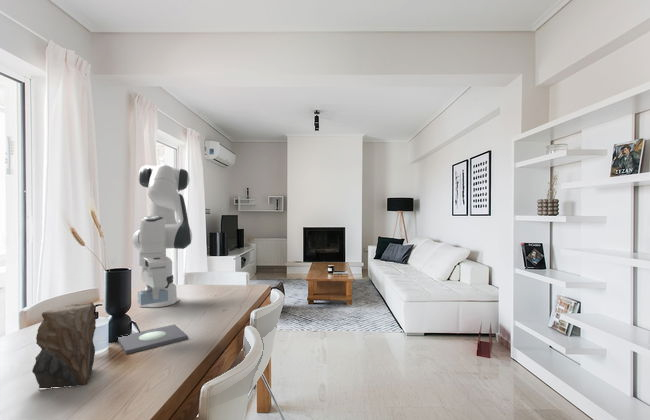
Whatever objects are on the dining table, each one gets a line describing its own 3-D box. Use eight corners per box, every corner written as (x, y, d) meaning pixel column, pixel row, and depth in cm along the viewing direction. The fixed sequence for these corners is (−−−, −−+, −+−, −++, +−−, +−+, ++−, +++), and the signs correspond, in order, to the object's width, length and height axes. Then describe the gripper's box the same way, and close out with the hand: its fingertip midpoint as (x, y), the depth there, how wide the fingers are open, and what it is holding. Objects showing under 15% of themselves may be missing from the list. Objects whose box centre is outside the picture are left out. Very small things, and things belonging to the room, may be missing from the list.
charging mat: (117, 339, 121) (117, 336, 121) (174, 327, 134) (174, 323, 134) (125, 354, 109) (125, 350, 109) (187, 338, 122) (187, 335, 122)
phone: (137, 302, 120) (137, 291, 120) (164, 298, 126) (164, 287, 126) (140, 305, 116) (140, 293, 117) (167, 300, 122) (167, 289, 122)
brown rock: (30, 392, 86) (30, 316, 86) (56, 369, 98) (56, 302, 98) (85, 385, 89) (85, 312, 89) (104, 364, 101) (104, 300, 101)
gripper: (137, 257, 127) (137, 293, 127) (150, 264, 112) (150, 304, 112) (154, 256, 131) (154, 290, 131) (169, 262, 116) (170, 301, 116)
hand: (152, 297), depth 121 cm, fingers closed on phone, 5 cm apart
